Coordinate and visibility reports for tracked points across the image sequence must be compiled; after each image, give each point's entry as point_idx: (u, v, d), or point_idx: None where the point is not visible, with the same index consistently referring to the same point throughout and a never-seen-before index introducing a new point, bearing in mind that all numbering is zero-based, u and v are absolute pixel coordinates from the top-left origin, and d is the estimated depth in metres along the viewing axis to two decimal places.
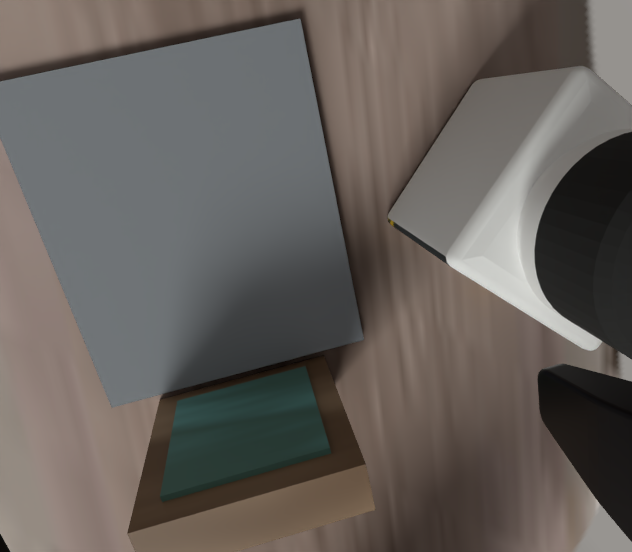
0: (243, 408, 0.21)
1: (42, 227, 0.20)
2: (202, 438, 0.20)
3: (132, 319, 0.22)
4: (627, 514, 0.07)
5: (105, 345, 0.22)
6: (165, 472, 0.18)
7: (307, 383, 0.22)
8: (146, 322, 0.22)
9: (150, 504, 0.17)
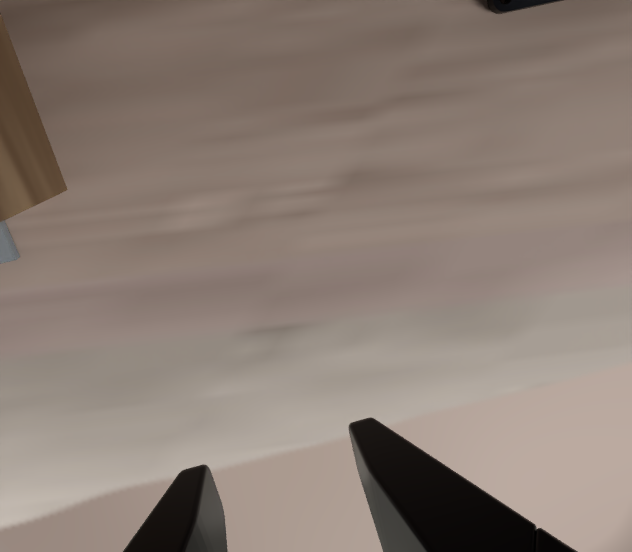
0: None
1: None
2: None
3: None
4: None
5: None
6: None
7: None
8: None
9: None
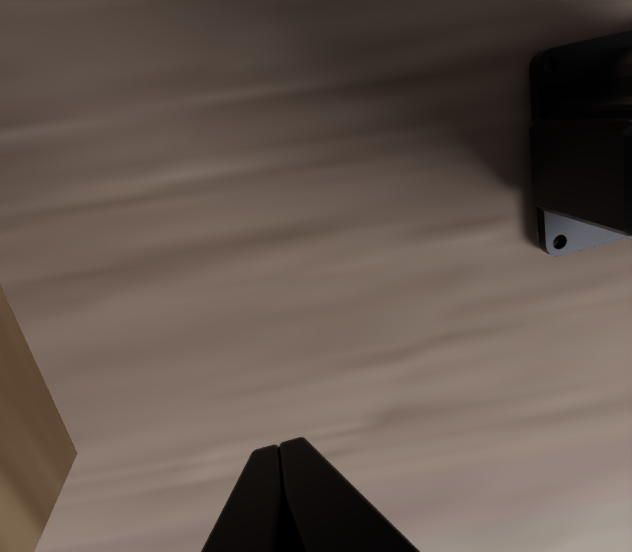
0: None
1: None
2: None
3: None
4: None
5: None
6: None
7: None
8: None
9: None
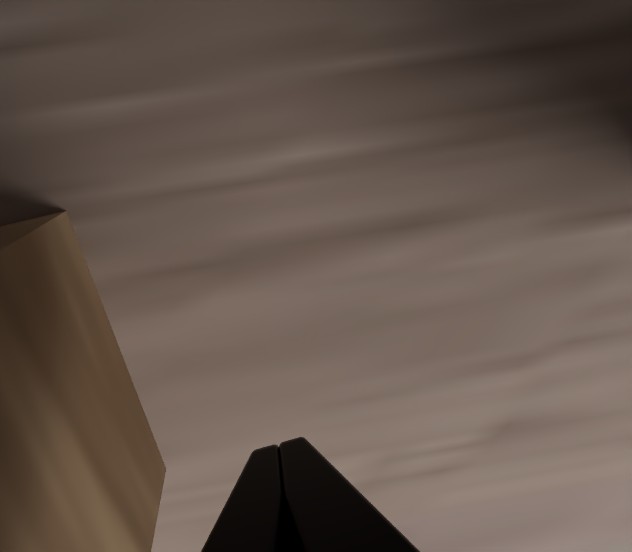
0: None
1: None
2: None
3: None
4: None
5: None
6: None
7: None
8: None
9: None
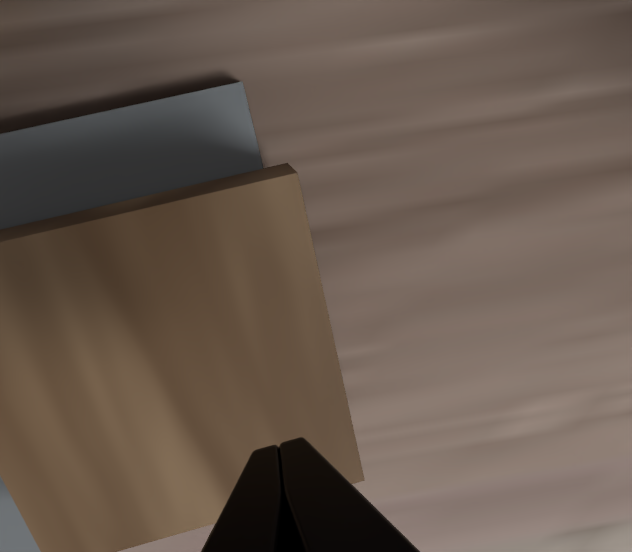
0: None
1: None
2: None
3: None
4: None
5: None
6: None
7: None
8: None
9: None
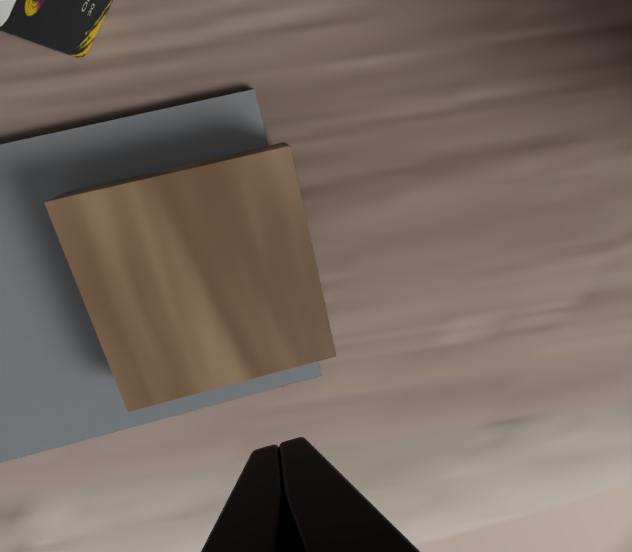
0: None
1: (124, 425, 0.21)
2: None
3: None
4: None
5: None
6: None
7: None
8: None
9: None
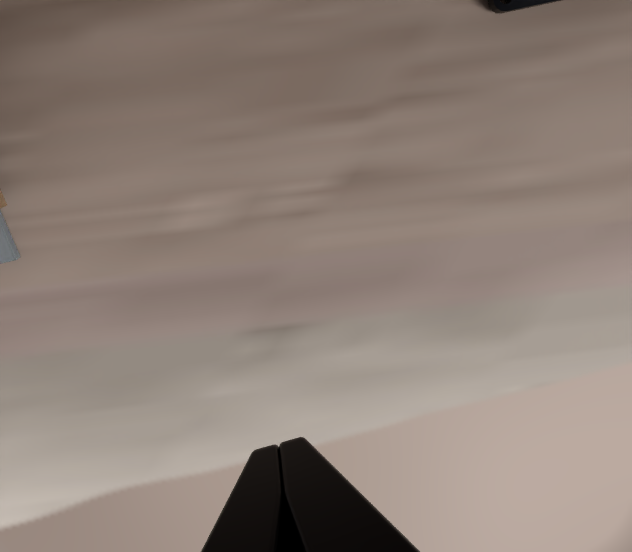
0: None
1: None
2: None
3: None
4: None
5: None
6: None
7: None
8: None
9: None
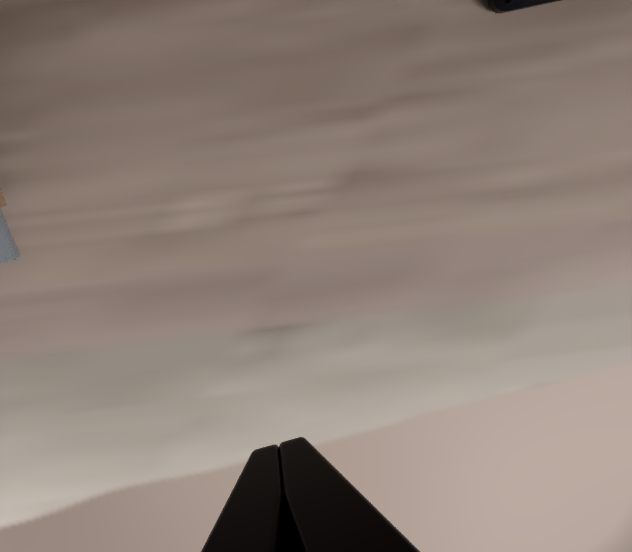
0: None
1: None
2: None
3: None
4: None
5: None
6: None
7: None
8: None
9: None
